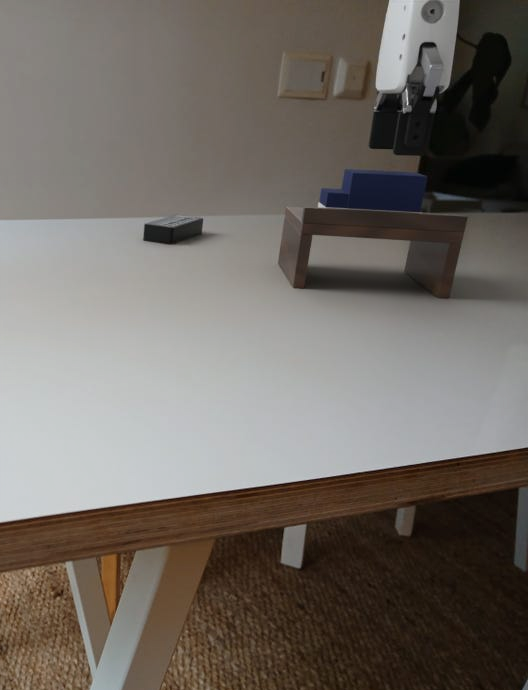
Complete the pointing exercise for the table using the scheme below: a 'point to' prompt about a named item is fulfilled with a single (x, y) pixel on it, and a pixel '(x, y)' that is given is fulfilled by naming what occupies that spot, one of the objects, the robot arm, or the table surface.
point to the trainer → (377, 191)
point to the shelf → (419, 228)
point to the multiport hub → (173, 229)
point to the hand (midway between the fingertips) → (395, 151)
